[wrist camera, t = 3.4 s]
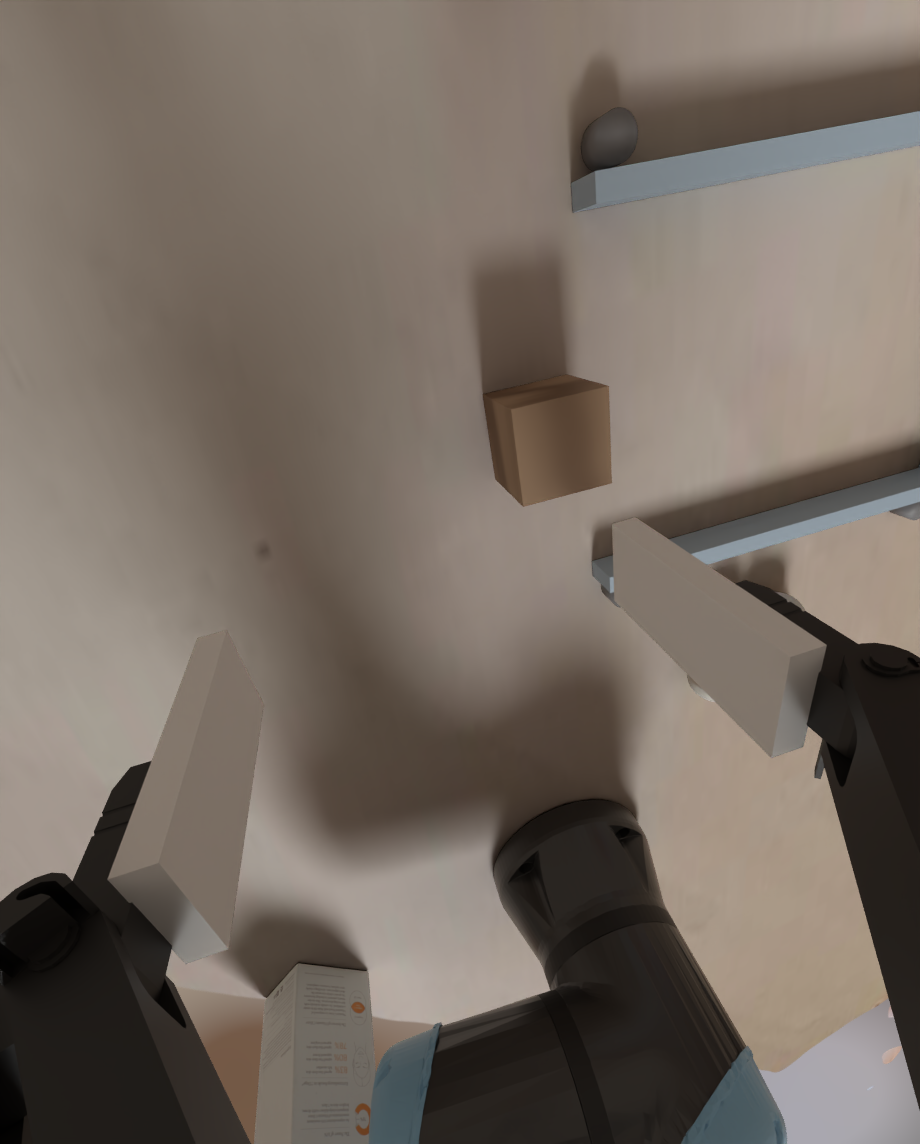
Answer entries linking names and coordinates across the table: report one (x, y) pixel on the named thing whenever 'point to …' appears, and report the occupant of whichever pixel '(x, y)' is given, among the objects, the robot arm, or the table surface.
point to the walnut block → (550, 437)
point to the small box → (316, 1059)
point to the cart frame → (617, 140)
